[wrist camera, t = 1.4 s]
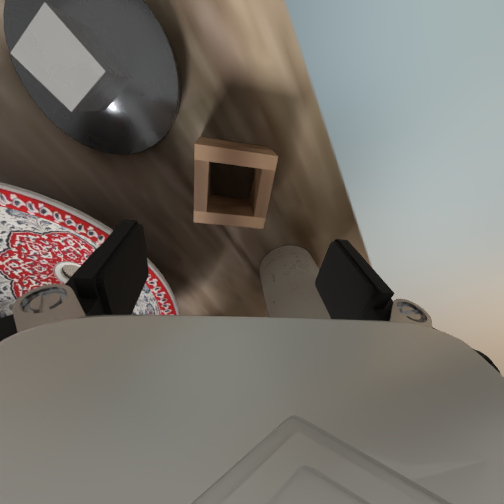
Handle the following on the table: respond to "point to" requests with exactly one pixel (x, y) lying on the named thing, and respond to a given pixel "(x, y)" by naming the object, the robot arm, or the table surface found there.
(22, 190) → the ceramic bowl
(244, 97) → the table surface
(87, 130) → the post base
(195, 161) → the hollow wooden square
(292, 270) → the thermos bottle
